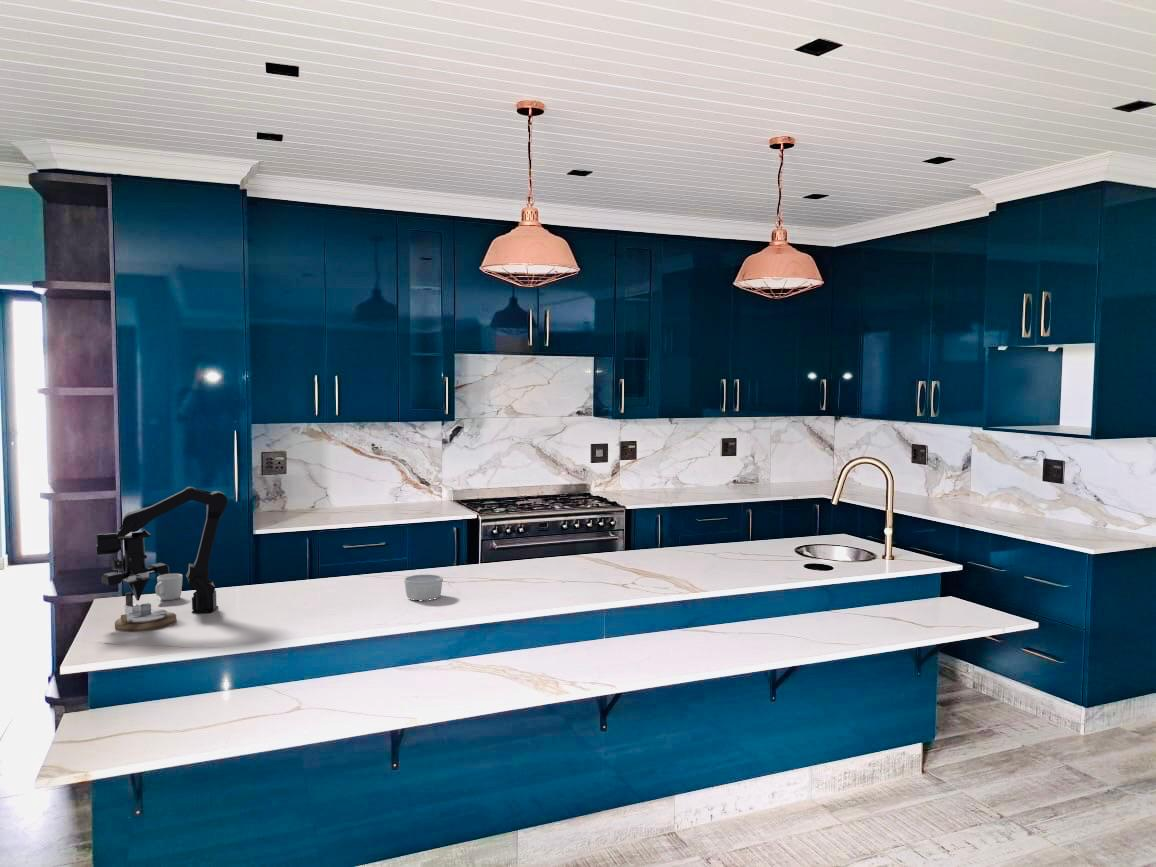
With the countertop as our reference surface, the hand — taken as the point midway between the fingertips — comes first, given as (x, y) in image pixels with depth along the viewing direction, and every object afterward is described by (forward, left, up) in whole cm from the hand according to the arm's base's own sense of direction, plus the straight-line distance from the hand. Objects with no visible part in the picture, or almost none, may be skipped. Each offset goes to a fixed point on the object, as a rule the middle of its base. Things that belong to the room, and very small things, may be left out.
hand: (137, 600), depth 267 cm
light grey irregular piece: (-4, +6, -4) cm, 8 cm away
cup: (0, -23, -6) cm, 24 cm away
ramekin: (-88, -17, -6) cm, 90 cm away
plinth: (-5, +7, -6) cm, 10 cm away
